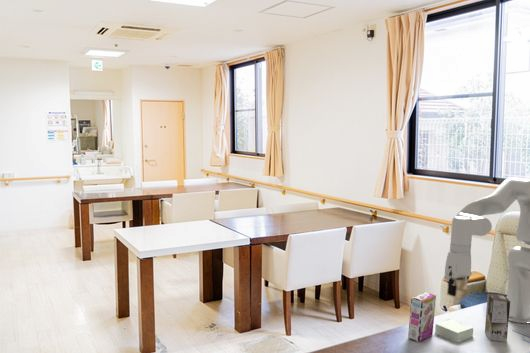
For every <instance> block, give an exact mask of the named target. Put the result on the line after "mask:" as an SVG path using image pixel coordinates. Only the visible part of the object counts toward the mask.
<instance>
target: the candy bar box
mask: <svg viewBox="0 0 530 353" xmlns="http://www.w3.org/2000/svg"><path fill="white" fill-rule="evenodd" d="M436 301H437V295H436V294H432V293H429V292H427V291H425V292H423V293H420V294H417V295H415V296H412V297H411V300H410V313H409V325H408V334H407V335H408V336H407V339H409V340H411V341H413V342H417V343H420V342H422V341H424V340H426V339H427V338H429V337H431V336H433V332H434V324H435V322H434V321H435V313H436V312H435V311H436V310H435V309H436Z"/></svg>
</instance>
